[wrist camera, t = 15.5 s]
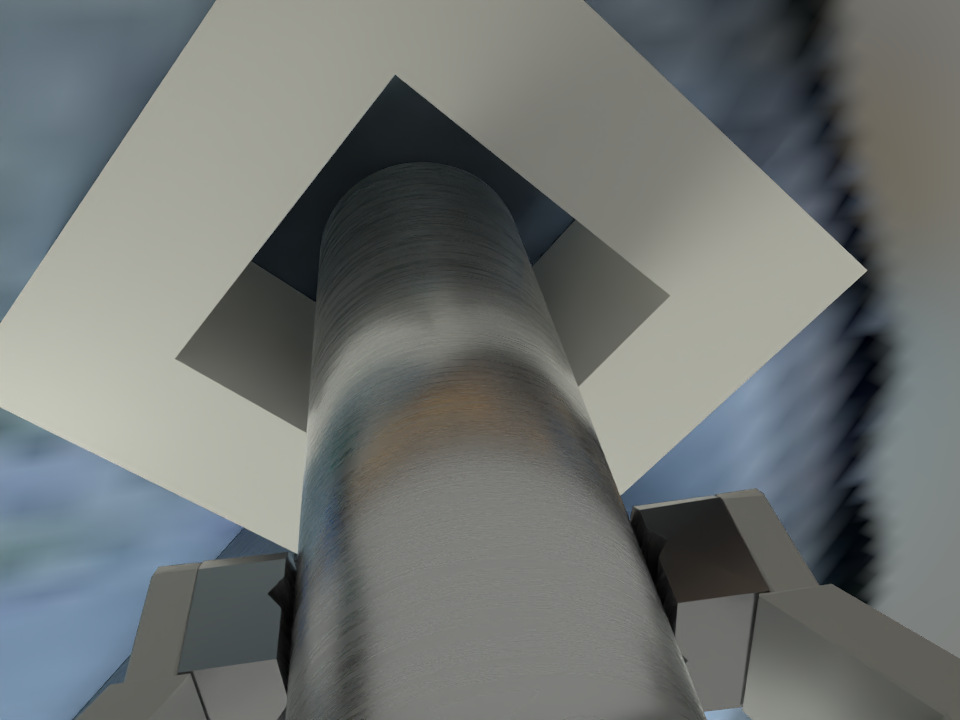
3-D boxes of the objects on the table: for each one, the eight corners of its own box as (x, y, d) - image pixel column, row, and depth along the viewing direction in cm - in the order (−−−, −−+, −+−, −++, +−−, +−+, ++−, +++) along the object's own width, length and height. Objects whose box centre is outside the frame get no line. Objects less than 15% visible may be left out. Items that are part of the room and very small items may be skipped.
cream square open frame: (445, 487, 24) (465, 637, 19) (45, 256, 19) (-42, 386, 15) (758, 171, 20) (867, 270, 16) (357, -210, 15) (359, -214, 11)
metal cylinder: (480, 363, 20) (618, 969, 9) (297, 318, 18) (229, 948, 8) (549, 196, 18) (813, 723, 8) (351, 134, 17) (348, 656, 6)
